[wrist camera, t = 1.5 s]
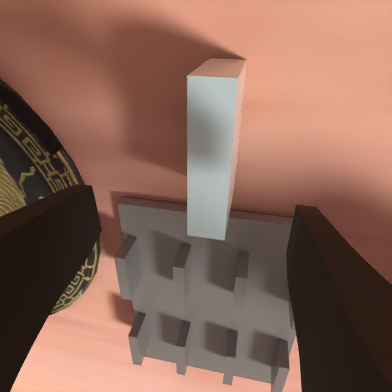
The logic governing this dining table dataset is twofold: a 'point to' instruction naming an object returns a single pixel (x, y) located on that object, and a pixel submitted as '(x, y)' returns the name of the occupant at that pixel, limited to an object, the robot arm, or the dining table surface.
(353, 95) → the dining table surface
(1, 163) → the decorative plate
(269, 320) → the grey slotted organizer
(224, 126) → the grey rectangular block
